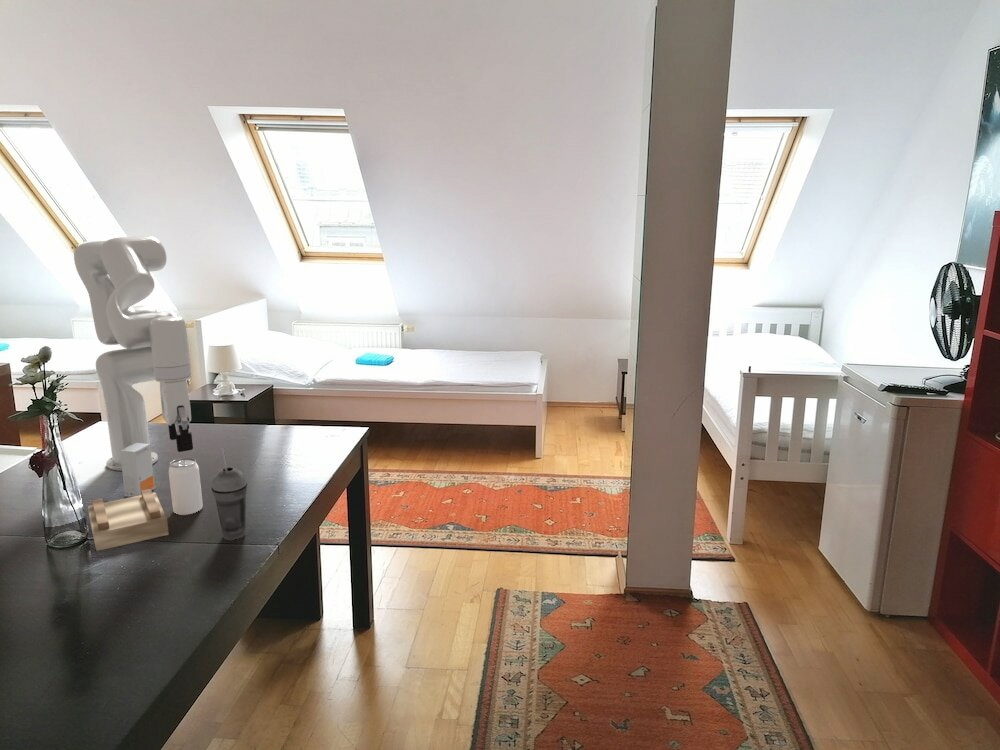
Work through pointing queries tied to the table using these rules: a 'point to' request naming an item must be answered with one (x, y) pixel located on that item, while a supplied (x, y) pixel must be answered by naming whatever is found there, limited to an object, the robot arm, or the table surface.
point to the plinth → (127, 520)
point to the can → (185, 486)
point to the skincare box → (137, 469)
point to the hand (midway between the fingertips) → (181, 444)
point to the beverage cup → (230, 500)
